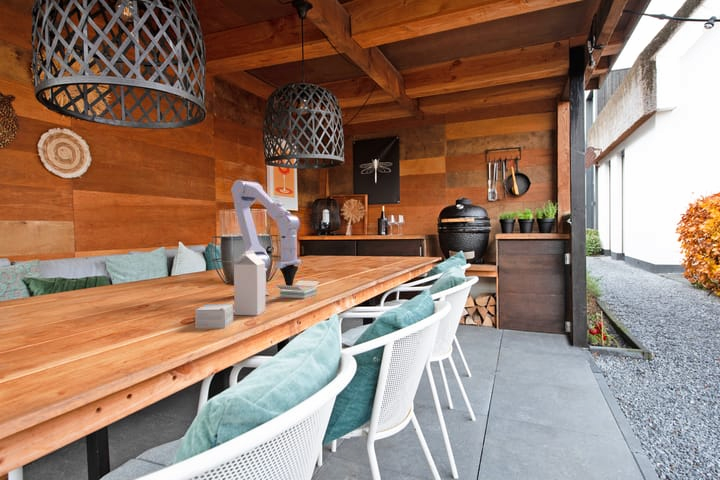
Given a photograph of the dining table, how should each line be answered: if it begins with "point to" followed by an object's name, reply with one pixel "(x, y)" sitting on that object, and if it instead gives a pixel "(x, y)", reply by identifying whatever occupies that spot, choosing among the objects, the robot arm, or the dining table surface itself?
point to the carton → (299, 293)
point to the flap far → (307, 283)
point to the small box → (214, 316)
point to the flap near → (289, 287)
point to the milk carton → (249, 285)
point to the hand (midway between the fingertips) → (289, 286)
